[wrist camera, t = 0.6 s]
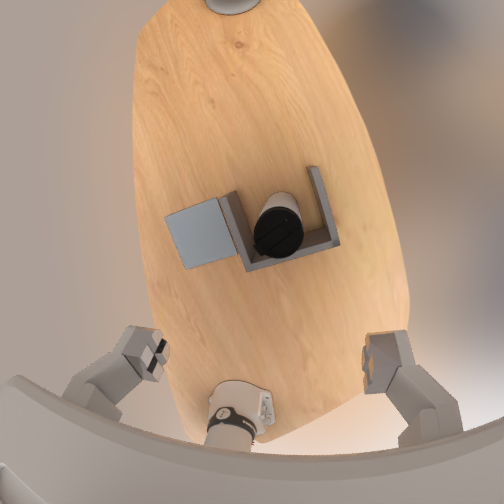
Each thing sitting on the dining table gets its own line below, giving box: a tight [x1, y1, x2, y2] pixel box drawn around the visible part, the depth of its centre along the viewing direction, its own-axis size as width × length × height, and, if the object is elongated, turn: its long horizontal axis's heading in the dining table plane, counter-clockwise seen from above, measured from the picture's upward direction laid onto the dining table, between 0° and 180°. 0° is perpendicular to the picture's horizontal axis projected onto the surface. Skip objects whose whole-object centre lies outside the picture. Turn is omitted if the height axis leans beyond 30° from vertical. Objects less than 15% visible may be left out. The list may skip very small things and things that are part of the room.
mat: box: [164, 197, 238, 269], centre depth 55 cm, size 12×12×1 cm
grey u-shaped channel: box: [219, 166, 340, 272], centre depth 48 cm, size 13×16×9 cm
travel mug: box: [253, 192, 304, 259], centre depth 42 cm, size 6×7×20 cm
